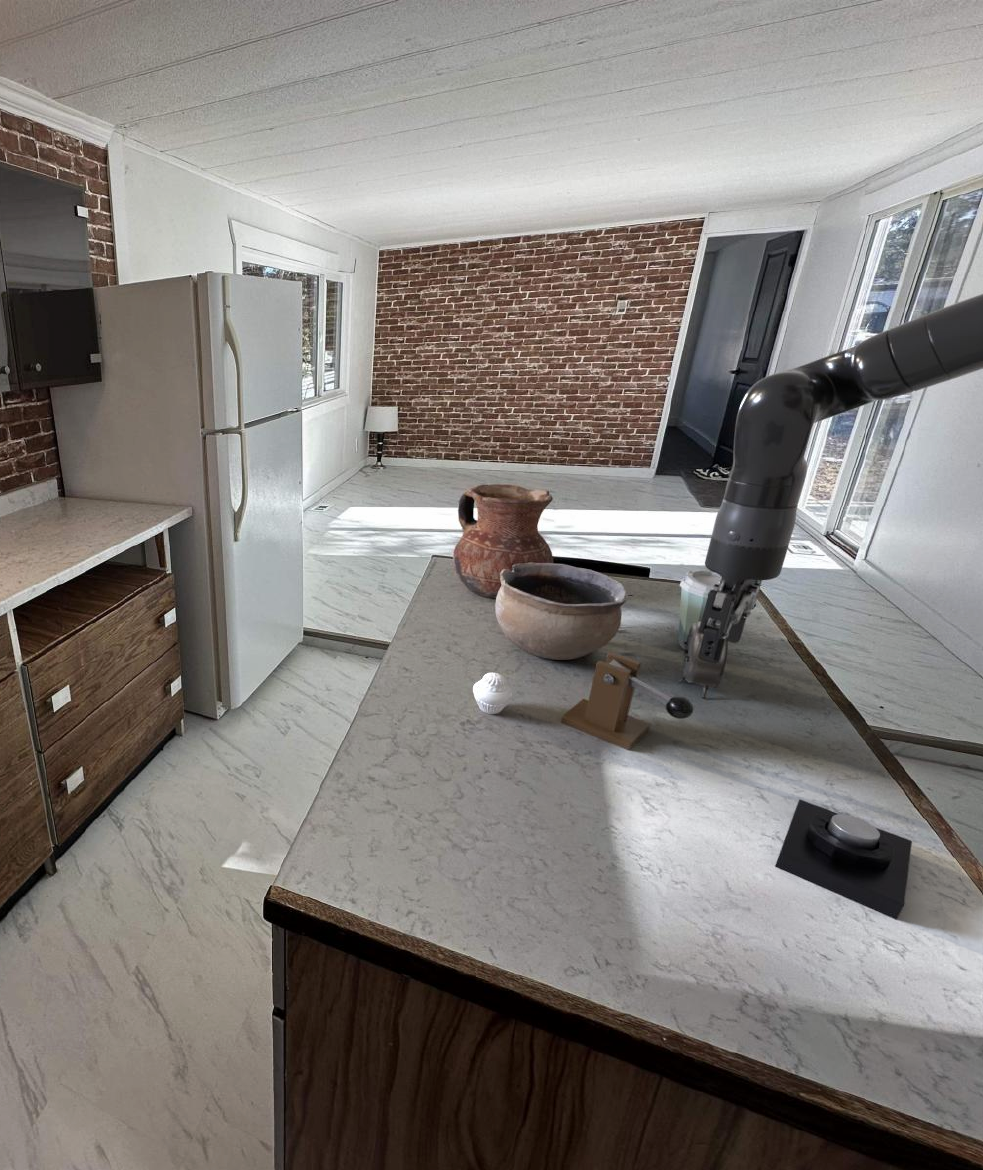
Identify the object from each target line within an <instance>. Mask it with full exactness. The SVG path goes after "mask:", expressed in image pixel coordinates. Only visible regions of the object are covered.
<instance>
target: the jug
mask: <svg viewBox="0 0 983 1170" xmlns="http://www.w3.org/2000/svg"><path fill="white" fill-rule="evenodd" d="M553 499H554V497H553V496H552V494H550V491H549V490H547V489H541V488H535V489H530V488H525V487H522V486H519V485H517V484H506V483H505V484H504V483H503V484H500V483H499V484H497V483H494V484H493V483H492V484H478V485H476V486H473V487H469V488H467V489H466V490H465V491H463V493H462V494H461V496H460V498H459V501H458V509H457V514H458V515H457V516H458V522H459V525H460V527H461V529H462V532H463V533H462V535H461V537H460V539H459V540H458V542H457V543H456V544H455V546H454V548H453V552H452V553H453V554H452V555H453V556H452V564H453V567H454V568H453V569H454V571H455V574H456V576H457V578H458V579H459V580H460V582H461V583H462V584H463V585H464V586H465V587H466V588H467V589H468V591H470V592H472V593H474V594H475V595H477V596H480V597H484V598H487V599H488V598H489V599H496V597H497V594H498V591H499V589H500V588H501V586H502V585H501V581H500V573H501V571H502V570H503V569H508V570H510V571H513V567H512V566H513V565H515V564H524V563H553V564H554V556H553V551H552V549H551V547H550V545H549V543H548V542H547V541H546V540H545V538H544V537H543V536H542V534H540V532H539V529H538V525H539V521H540V519H541V515H542V514H543V512H544V511H545V509H546V508H547V507H548V506H549V505H550V504H551V503H552V502H553ZM475 505H476V511H477V519H475V517H474V515H475V513H474V512H475V511H474V509H475Z"/></svg>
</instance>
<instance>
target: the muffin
mask: <svg viewBox="0 0 983 1170" xmlns="http://www.w3.org/2000/svg"><path fill="white" fill-rule="evenodd" d="M472 692H473V697H474V699H475V701H476V703H477V705H478V707H479V710H480V711H482V712H484V713H485V714H489V715H497V714H498V715H499V714H500V713H501V712H502V711H503V710H504V709H505V708H506V707H507V705H509V703H510V701H511V700H512V698H513V691H512V689H511V687H510V686H509V685H508V683H507V679H506V678H505V677H504V675H502V674H500V673H498V672H488V673H485V674H484V675H483V676H482V679H480V680H478V681H476V682H475V683H474V685H473V687H472Z"/></svg>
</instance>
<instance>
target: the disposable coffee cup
mask: <svg viewBox="0 0 983 1170" xmlns="http://www.w3.org/2000/svg"><path fill="white" fill-rule="evenodd" d="M721 579H722V577H721V576H720V575H719V574H717V573H716V572H715V573H714V572H712V571H710V570H709V569H703V568H702V569H701V568H696V569H692V570H689V571H687V572H686V575H685V576H683V577H682V579H681V581H680V584H679V587H681V592H680V593H681V594H680V608H679V625H678V643H679V646H680V647H681V648H682V649H683V650H685V647H686V644H684V642H687V637H688V633H689V630H690V628H691V626H692V625H693V624H694V623H696V622H701V620H702V616H703V613H704V609H705V605H706V602H707V598H708V592H710V590H712V589H713V586H714V585H715V584H719V582H720V580H721ZM716 624H721V621H719V620H717V621H716Z"/></svg>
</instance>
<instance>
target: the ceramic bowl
mask: <svg viewBox="0 0 983 1170" xmlns="http://www.w3.org/2000/svg"><path fill="white" fill-rule="evenodd" d="M512 567H513V571H510V570H508V569H503V570H502V571H501V573H500V581H501V585H502V586H501V588H500V589H499V591H498V594H497V597H496V598H495V606H494V608H495V609H494V610H495V616H496V619H497V623H498V624H499V627H500V628H501V631H502V632H503V633H504V635H505V636H506V638H507V639H508V640H509V642H511V643H512V644H513V645H514V646H516V647H517V648H518V649H520V650H521V651H523V652H525V653H527V654H530V655H531V656H535V657H538V658H543V659H547V660H555V661H557V660H558V661H565V660H566V661H567V660H574V659H579V658H582V657H584V656H588V655H589V654H591V653H593V652H595V651H597V650H599V649H602V648H603V647H605V646H607V645H608V644H609V643H610V642H611V641H612V640H613V639H614V638H615V636H616V635H617V633H618V631H619V629H620V627H621V624H622V606H624V604H625V603H626V602H627V600H628V598H629V597H630V595H629V592H628V591H627V588H626V587H625V586H624V584H623V583H621V582H620V581H618V580H616V579H614V578H611V577H610V576H609V575H607V574H605V573H601V572H599V571H595V570H592V569H588V568H582V567H578V566H577V567H576V566H572V565H568V564H565V563H554V562H553V563H524V564H515V565H513V566H512Z"/></svg>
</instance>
